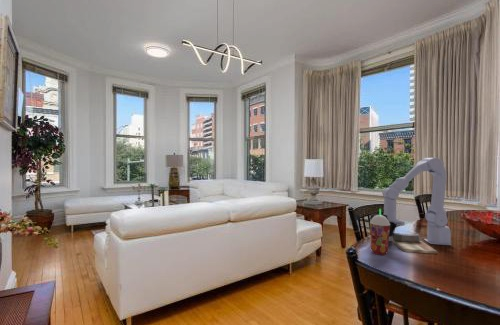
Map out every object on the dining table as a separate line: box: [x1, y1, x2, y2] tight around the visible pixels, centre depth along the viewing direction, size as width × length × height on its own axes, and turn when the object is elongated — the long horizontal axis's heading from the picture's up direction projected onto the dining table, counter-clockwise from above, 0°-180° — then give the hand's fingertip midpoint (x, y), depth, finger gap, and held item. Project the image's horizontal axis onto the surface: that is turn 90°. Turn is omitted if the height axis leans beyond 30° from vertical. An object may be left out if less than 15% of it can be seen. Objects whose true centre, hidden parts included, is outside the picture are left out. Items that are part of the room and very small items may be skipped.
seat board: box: [391, 238, 438, 255], centre depth 130 cm, size 14×16×1 cm
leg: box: [391, 232, 421, 242], centre depth 136 cm, size 12×4×3 cm, turn 80°
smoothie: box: [369, 208, 390, 256], centre depth 121 cm, size 8×8×20 cm
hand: (389, 236), depth 141 cm, fingers closed
